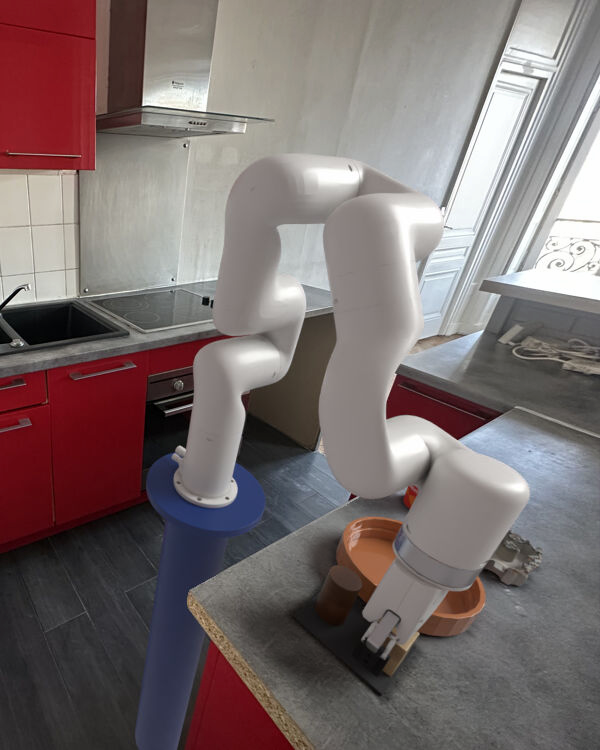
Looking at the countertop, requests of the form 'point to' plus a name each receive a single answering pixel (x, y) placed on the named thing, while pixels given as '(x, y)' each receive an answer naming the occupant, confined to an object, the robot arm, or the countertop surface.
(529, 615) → the countertop surface
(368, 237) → the robot arm
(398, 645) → the birch block
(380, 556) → the pan
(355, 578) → the walnut cylinder
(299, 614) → the mat
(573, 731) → the countertop surface
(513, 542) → the egg carton
